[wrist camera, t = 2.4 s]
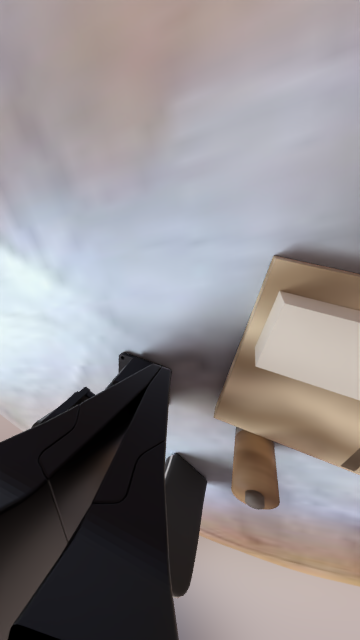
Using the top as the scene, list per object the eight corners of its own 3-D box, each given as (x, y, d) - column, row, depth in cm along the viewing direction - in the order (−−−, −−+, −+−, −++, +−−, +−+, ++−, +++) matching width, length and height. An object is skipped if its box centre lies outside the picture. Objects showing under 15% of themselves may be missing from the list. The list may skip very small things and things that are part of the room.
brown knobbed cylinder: (265, 450, 23) (269, 523, 18) (231, 436, 24) (225, 502, 18) (278, 430, 21) (288, 505, 16) (241, 416, 22) (238, 482, 17)
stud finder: (363, 381, 15) (383, 409, 13) (254, 347, 16) (255, 367, 14) (412, 324, 12) (448, 346, 10) (279, 290, 14) (285, 304, 12)
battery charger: (160, 456, 31) (119, 565, 21) (175, 450, 29) (137, 566, 19) (192, 484, 31) (166, 602, 22) (209, 480, 30) (189, 608, 20)
